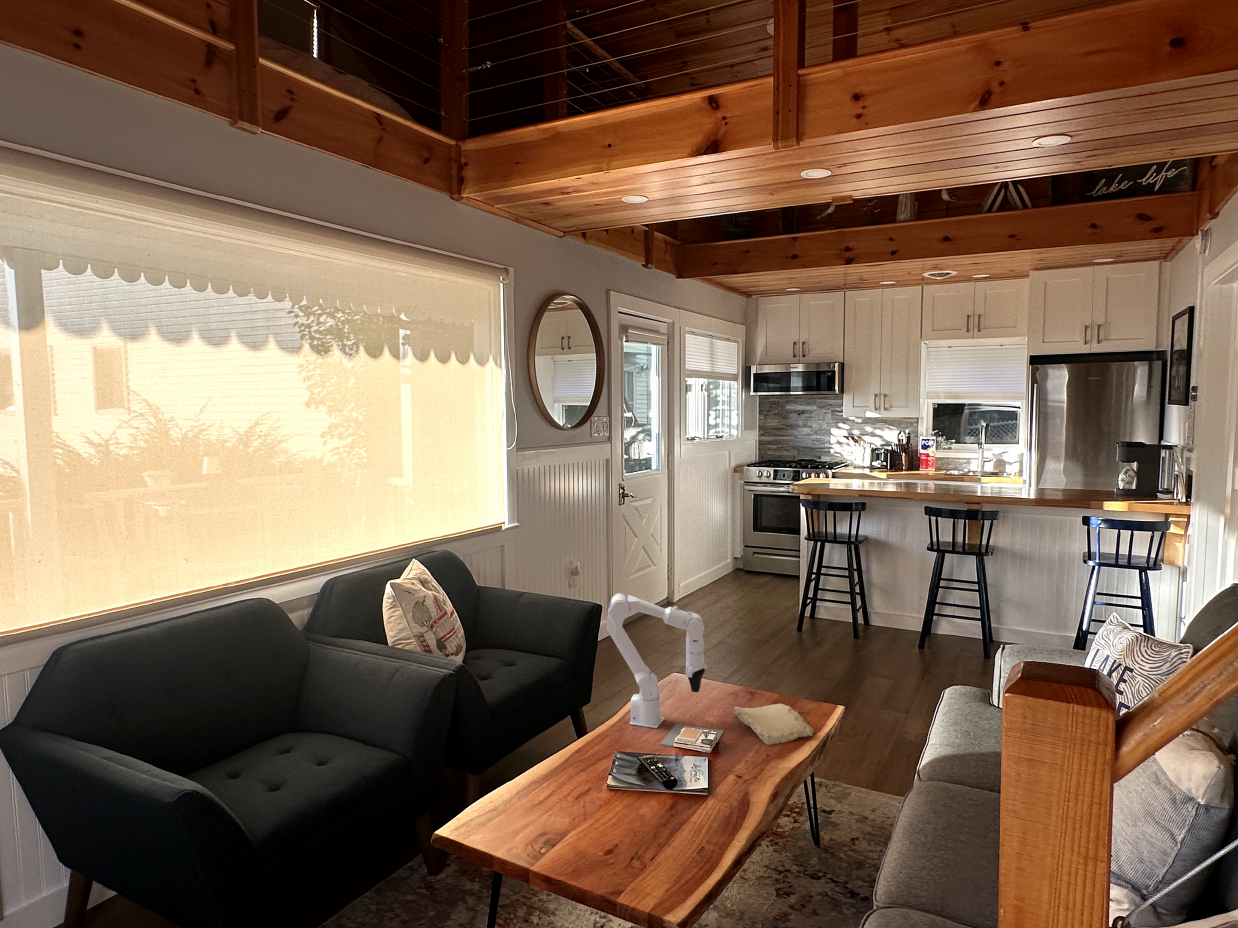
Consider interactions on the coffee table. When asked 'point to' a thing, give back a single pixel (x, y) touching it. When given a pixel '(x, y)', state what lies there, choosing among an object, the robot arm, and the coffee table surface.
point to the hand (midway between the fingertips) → (695, 691)
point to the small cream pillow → (774, 723)
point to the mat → (677, 729)
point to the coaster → (689, 735)
